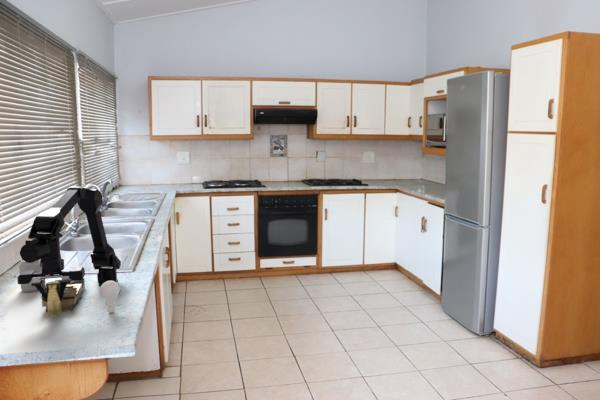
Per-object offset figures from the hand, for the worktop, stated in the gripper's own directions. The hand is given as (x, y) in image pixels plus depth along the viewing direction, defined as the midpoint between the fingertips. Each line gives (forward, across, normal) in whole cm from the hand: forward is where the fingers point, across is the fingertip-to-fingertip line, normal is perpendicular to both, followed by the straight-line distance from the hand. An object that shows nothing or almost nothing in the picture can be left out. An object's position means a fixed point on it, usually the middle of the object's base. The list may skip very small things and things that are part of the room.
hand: (54, 300), depth 160 cm
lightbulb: (+6, -17, 0) cm, 18 cm away
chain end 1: (+6, 0, -14) cm, 15 cm away
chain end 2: (+6, 0, -20) cm, 21 cm away
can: (+6, +14, -32) cm, 35 cm away
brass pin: (+4, 0, 0) cm, 4 cm away
